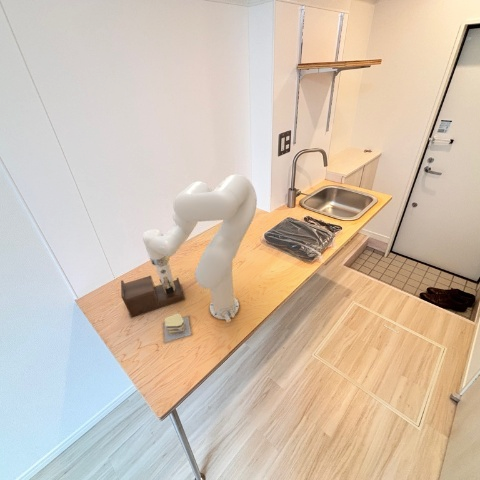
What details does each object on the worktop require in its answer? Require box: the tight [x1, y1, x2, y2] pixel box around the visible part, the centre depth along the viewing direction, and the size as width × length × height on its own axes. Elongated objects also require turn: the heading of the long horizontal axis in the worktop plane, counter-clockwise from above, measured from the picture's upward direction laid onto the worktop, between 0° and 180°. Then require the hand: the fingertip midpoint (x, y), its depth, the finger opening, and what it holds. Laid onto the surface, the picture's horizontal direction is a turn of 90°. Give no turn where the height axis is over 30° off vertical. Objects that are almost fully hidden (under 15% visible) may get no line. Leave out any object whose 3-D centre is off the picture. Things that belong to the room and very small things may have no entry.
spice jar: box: [159, 279, 176, 294], centre depth 109 cm, size 6×6×8 cm
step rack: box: [120, 275, 185, 318], centre depth 108 cm, size 10×23×13 cm, turn 113°
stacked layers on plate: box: [163, 313, 192, 343], centre depth 97 cm, size 10×9×6 cm
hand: (169, 288), depth 111 cm, fingers closed on spice jar, 5 cm apart
